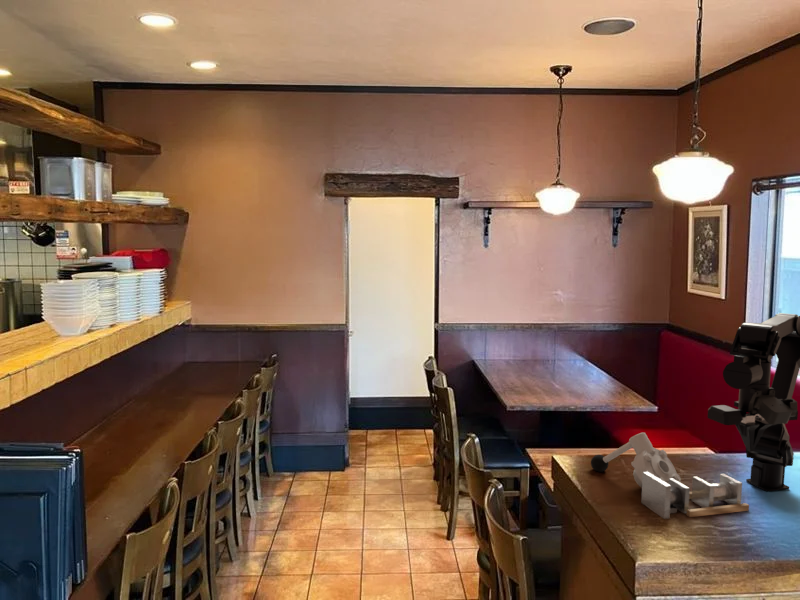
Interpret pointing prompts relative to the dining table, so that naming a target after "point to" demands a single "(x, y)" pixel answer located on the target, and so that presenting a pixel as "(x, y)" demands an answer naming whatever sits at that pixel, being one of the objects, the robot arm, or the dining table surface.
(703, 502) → the grey slotted block
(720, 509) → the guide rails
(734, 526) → the dining table surface
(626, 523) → the dining table surface
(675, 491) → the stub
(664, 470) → the mechanical valve
